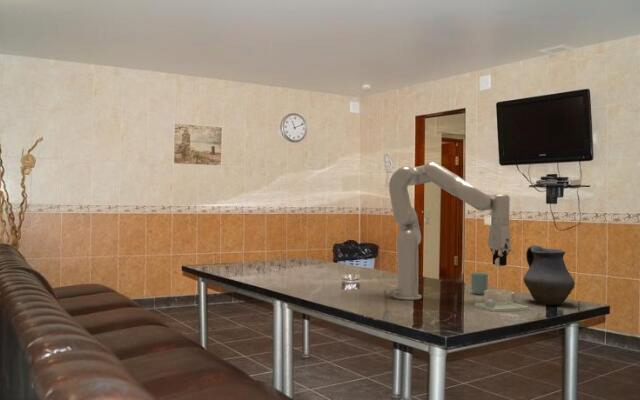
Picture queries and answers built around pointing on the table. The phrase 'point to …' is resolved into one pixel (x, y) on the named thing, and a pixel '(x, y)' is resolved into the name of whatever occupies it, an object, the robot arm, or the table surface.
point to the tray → (503, 307)
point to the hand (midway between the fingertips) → (499, 264)
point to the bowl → (499, 296)
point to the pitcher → (547, 276)
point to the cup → (479, 282)
